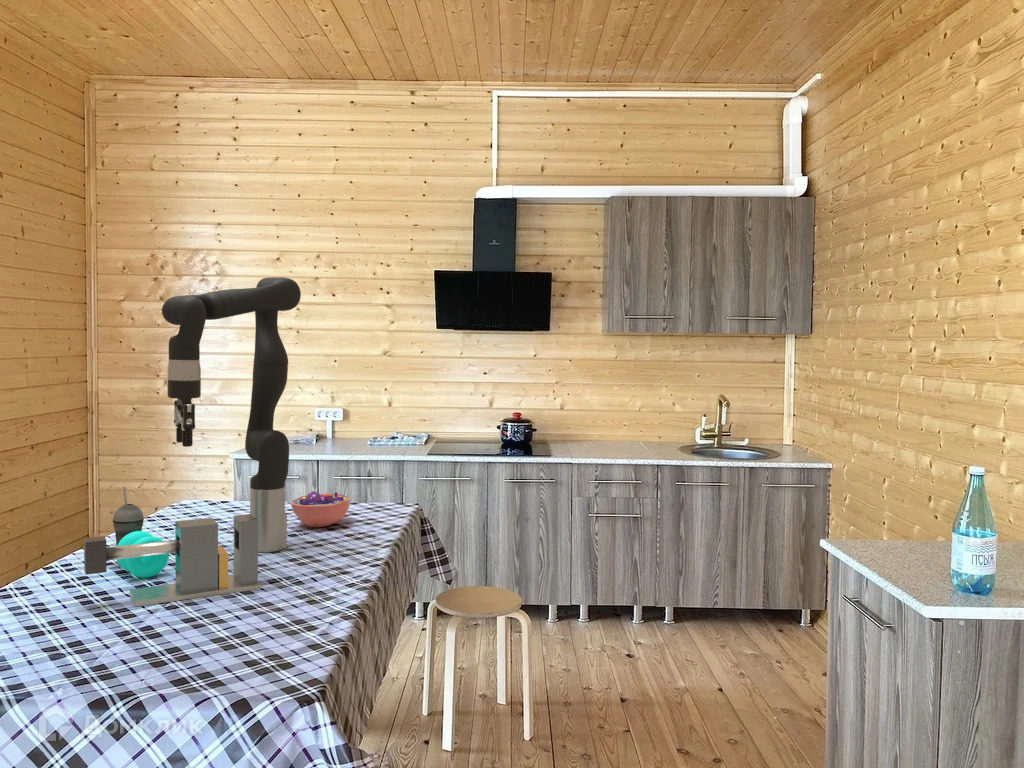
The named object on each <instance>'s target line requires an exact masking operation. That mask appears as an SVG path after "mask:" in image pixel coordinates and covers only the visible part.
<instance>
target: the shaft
mask: <svg viewBox="0 0 1024 768" xmlns="http://www.w3.org/2000/svg"><path fill="white" fill-rule="evenodd" d="M177 552H180V540H175V539H172V540H163V541H162V542H153V543H143V544H134V545H124V546H117V545H116V546H115V545H114V546H107V538H106V536H105V535H100V536H92V537H84V538H83V562H84V563H83V569H84V570H83V571H84V574H85V576H86V575H87V576H88V575H93V574H94V575H95V574H101V573H107V562H108V561H113V560H116V559H124V558H133V557H142V556H150V555H159V554H168V553H169V554H175V553H177Z"/></svg>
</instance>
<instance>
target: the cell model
mask: <svg viewBox="0 0 1024 768" xmlns="http://www.w3.org/2000/svg"><path fill="white" fill-rule="evenodd" d="M350 501H351V497H350V496H347V495H344V494H343V493H338V492H334V494H329V493H326V494H325V493H324V494H320V493H319V492H318V491H316V490H313V491H310V492H309V493H308V494H306V495H302V496H300V497H297V498H295V499H292V500H291V501H290V503H289V504H290V506H291V510H292V511H293V514H294V515H295V516H296V517H297V519H298V520H299V521H300V522H301V523H302V524H304V525H306V526H308V527H310V528H324V527H327V526H331V525H333V524H335V523H337V522H339V521H341V520H342V519H344V518H345V516H346V515H347V513H348V511H349V509H350V504H351V502H350Z"/></svg>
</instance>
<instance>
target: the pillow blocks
mask: <svg viewBox="0 0 1024 768" xmlns="http://www.w3.org/2000/svg"><path fill="white" fill-rule="evenodd" d="M174 523H175V525H174V527H175V536H174V537H175V539H174V540H180V552H177V553H174V554H175V558H174V560H175V562H174V563H175V565H174V566H175V568H174V569H175V570H174V571H175V579H174V580H175V583H167V584H160V585H153V586H152V585H151V586H146V587H145V586H144V587H137V588H131V589H128V591H129V596H130V598H131V601H132V603H133V606H134V607H135V608H137V607H141V606H150V605H156V604H163V603H164V604H165V603H171V602H178V601H184V600H191V599H199V598H204V597H211V596H219V595H225V594H234V593H241V592H246V591H254V590H261V588H263V586H262V583H261V582H260V581H259V552H258V520H257V519H256V518H255V517H254V516H252V515H251V514H250V513H249V514H248V513H247V514H240V515H239V514H237V515H233V565H232V566H233V575H230V576H229V575H228V588H223V589H219V588H218V546H219V524H218V522H216V520H214V518H213V517H209V518H208V517H207V518H205V517H204V518H197V519H196V518H195V519H194V518H193V519H186V520H185V519H184V520H176V521H175V522H174Z"/></svg>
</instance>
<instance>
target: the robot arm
mask: <svg viewBox="0 0 1024 768" xmlns="http://www.w3.org/2000/svg"><path fill="white" fill-rule="evenodd" d="M301 293H302V292H301V288H300V286H299V285H298V283H297V282H296V281H295V280H294V279H292V278H288V277H263V278H261V279H260V280H259V281H258V282H257V284H256V287H249V288H248V287H245V288H229V289H228V288H227V289H221V290H214V291H210V292H206V293H199V294H188V295H187V294H186V295H185V294H184V295H175V296H172V297H170V298H168V299H166V300H165V302H164V303H163V305H162V307H161V314H162V317H163V319H164V320H165V321H166V322H167V323H169V324H170V325H171V324H172V325H173V326H179V329H178V332H177V334H175V335H173V336H171V337H170V338H169V341H168V365H167V397H168V398H170V399H175V400H174V401H173V407H174V408H173V409H174V410H173V411H174V413H173V414H174V415H173V417H174V418H173V423H174V426H175V431H176V432H175V433H176V435H175V436H176V438H175V439H176V440H175V441H176V442H177V443H181V445H182V447H185V448H186V447H187V448H188V447H192V446H193V436H194V434H193V431H194V429H196V416H195V415H196V405H195V403H192V399H198V398H200V397H201V394H202V393H201V389H202V386H201V385H202V383H201V381H202V380H201V379H202V377H201V376H202V375H201V374H202V372H201V371H202V370H201V361H200V356H201V355H200V351H201V350H200V343H201V339H202V336H203V333H204V329H205V324H206V321H213V320H220V319H227V318H230V317H235V316H239V315H244V314H248V313H254V314H255V317H254V318H255V319H254V320H255V333H254V337H255V338H254V354H253V355H254V357H253V364H252V365H253V368H252V386H251V387H252V388H251V399H250V408H249V409H250V411H249V418H248V422H247V423H248V424H247V428H246V435H245V439H244V440H245V445H244V447H245V452H246V454H247V456H248V457H249V458H250V459H252V461H256V462H258V467H257V468H258V470H257V473H256V474H254V475H253V476H251V477H250V481H249V483H250V484H249V487H250V488H249V495H250V496H249V514H251V515H252V516H254V517H255V518H256V519H257V520H258V553H268V552H269V553H273V552H277V551H281V550H286V549H288V548H287V546H288V538H287V537H288V536H287V535H288V515H287V514H286V513H285V511H286V505H285V504H286V497H285V496H286V480H287V478H288V474H289V464H290V463H289V460H290V444H289V440H288V438H287V436H286V434H285V433H283V431H280V430H276V429H275V430H274V417H275V411H276V409H277V408H276V407H277V405H278V403H279V401H280V399H281V397H282V395H283V393H284V390H285V388H286V386H287V382H288V374H289V373H288V372H289V371H288V369H289V357H288V356H289V355H288V354H287V350H286V347H285V346H284V343H283V341H282V338H281V336H280V334H279V329H278V316H279V312H286V311H292V310H293V309H294V308H296V307H297V306H298V305H299V303H300V301H301V299H302V298H301V296H302V294H301Z"/></svg>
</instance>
